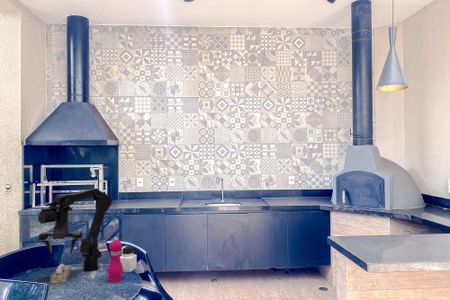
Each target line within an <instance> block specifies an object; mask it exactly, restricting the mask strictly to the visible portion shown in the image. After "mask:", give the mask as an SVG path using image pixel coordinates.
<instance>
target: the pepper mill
mask: <svg viewBox="0 0 450 300" xmlns="http://www.w3.org/2000/svg"><path fill="white" fill-rule="evenodd" d="M118 239H119V238H118V237H116V236H115V237H114V238H113V240H112V241H111V242H110V243H109V245H108V248H109V255H110V261H109V264H108V266H107V268H106V269H107V270H106V272H107V274H108V279H107V281H108V282H110V283H116V282H120V281H122V280H123V275H122V273H123V266H122V264H121V261H120V256H121V255H122V247H123V243H122V242H121V241H120V240H118Z"/></svg>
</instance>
